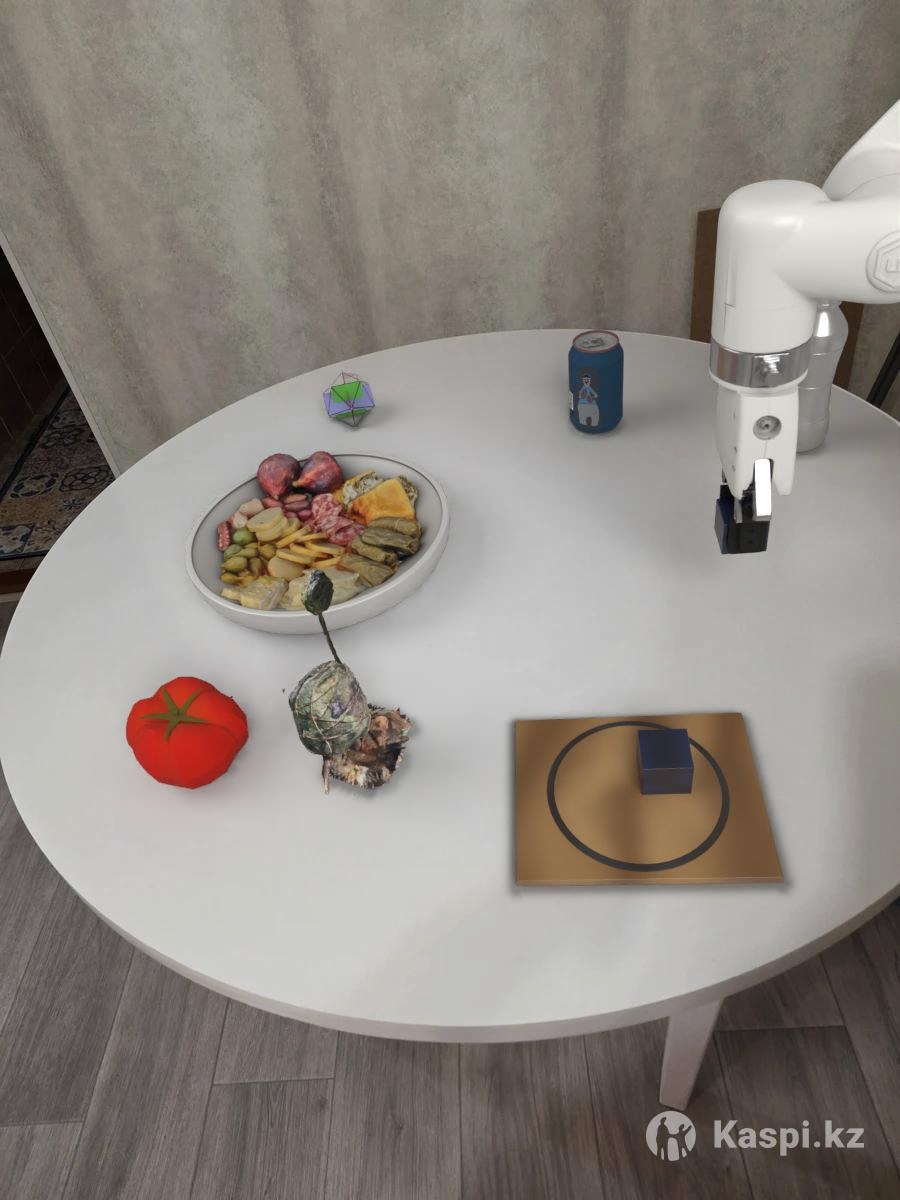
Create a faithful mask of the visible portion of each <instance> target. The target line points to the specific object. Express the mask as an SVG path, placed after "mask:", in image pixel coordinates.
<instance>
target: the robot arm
mask: <svg viewBox="0 0 900 1200" xmlns="http://www.w3.org/2000/svg"><path fill="white" fill-rule="evenodd" d="M720 207H721V208H720V210H719V214H718V221H717V233H716V247H715V263H714V264H715V265H714V278H713V279H714V281H713V297H712V312H711V327H710V328H711V329H710V343H709V344H710V346H709V360H708V362H709V363H708V374H709V377H710V379H711V380H712V381H713V382H714V383H716V384H717V385H718V386H717V387H718V388H717V398H716V407H715V408H716V410H715V423H714V424H715V425H714V426H715V427H714V431H715V432H714V433H715V435H714V436H715V437H714V438H715V445H716V450H717V454H718V457H719V461H720V464H721V468H722V469H721V482H722V483H721V484H720V486H719V498H718V499H722V498H734V497H735V504H734V516H730V523H729V534H728V545H727V549H728V553H729V554H728V555H742V554H756V553H757V554H758V553H762V552H765V551H764V549H765V543H766V535H767V527H768V520H770V521H771V520H772V519H773V517H772V516H773V515H772V514H773V512H772V511H773V510H772V481H773V484H774V487H775V489H776V492H777V495H778V497H788V496H789V495H790V494H791V493H792V492H793V489H794V481H795V469H796V458H797V452H796V448H797V436H798V418H799V395H798V384H799V383H800V382H801V381H802V380H803V379H804V378H805V377H806V375H807V372H808V364H809V357H810V350H811V343H812V336H813V331H814V324H815V317H816V310H817V303H818V298H822V299H832V300H840V301H842V302H849V303H855V304H856V303H857V304H864V305H865V304H866V305H890V304H891V305H892V304H897V303H900V98H899V99H898V100H897V101H896V102H895V103H893V105H891V107H890V108H889V109H887V111H886V112H885V113H883V115H882V116H881V117H880V118H879V119H877V121H875V123H874V124H873V125H872V126H871V127H870V128H869V129H868V130H867V131H866V132H865V133H864V134H863V135H862V136H861V137H860V138H859V139H858V140H857V141H856V142H855V143H854V144H853V145H852V146H851V147H850V148H849V149H848V150H847V151H846V153H845V154H844V155H843V156H842V157H841V158H840V160H839V161H838V162H837V164H836V165H835V166H834V168H833V169H832V170H831V171H830V173H829V175H828V177H827V178H826V180H825V181H824V183H823V185H822V188H821V187H819V186H817V185H816V184H813V183H810V182H807V181H802V180H796V179H769V180H763V181H762V180H761V181H758V182H754V183H750V184H747V185H744V186H741V187H739V188H737V189H736V190H734V191H733V192H732V193H730V194H729V195H728V196H727V198H726V199H725V200H724V201H723V203H722V205H721V206H720ZM748 497H753V505H749V506H745V507H744V508H743V505H744V498H748Z"/></svg>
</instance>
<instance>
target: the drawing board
mask: <svg viewBox="0 0 900 1200" xmlns="http://www.w3.org/2000/svg"><path fill="white" fill-rule="evenodd" d="M657 729H687V733H688V738H689V743H690V749H691V754H692V759H693V764H694V774H693V782H692V790H691V794H652V795H642V794H641V787H640V780H639V772H638V765H637V757H636V752H637V731H638V730H657ZM751 748H752V747H751V745H750V740H749V737H748V733H747V728H746V725H745V721H744V717H743V714H742V712H722V713H721V712H720V713H719V712H718V713H691V714H665V715H664V714H663V715H637V716H635V715H634V716H610V717H609V716H608V717H607V716H606V717H604V716H603V717H580V718H579V717H578V718H550V719H548V718H547V719H522V720H515V810H516V811H515V824H516V825H515V827H516V828H515V829H516V830H515V833H516V834H515V835H516V836H515V838H516V842H515V843H516V844H515V845H516V848H515V849H516V850H515V851H516V886H518V887H536V886H537V887H539V886H547V887H550V886H551V887H553V886H614V885H615V886H619V885H623V886H625V885H626V886H627V885H689V884H691V885H694V884H695V885H696V884H700V885H701V884H752V883H753V884H760V883H762V884H766V883H767V884H768V883H769V884H770V883H771V884H772V883H774V884H775V883H783V880H784V873H783V870H782V866H781V861H780V858H779V854H778V850H777V845H776V842H775V837H774V835H773V830H772V827H771V823H770V818H769V814H768V811H767V807H766V803H765V799H764V796H763V792H762V788H761V782H760V780H759V776H758V772H757V768H756V765H755V764H756V763H755V760H754V756H753V753H752V749H751Z"/></svg>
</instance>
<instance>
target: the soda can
mask: <svg viewBox="0 0 900 1200" xmlns="http://www.w3.org/2000/svg"><path fill="white" fill-rule="evenodd" d="M624 358H625V351H624V348H623V346H622V344H621V343H620V337H619V335H617V334H616V333H614V332H612V331H609V330H604V329H591V330H587V331H583V332H581V333H579V334H577V335H576V336H575V337H574V338H573V339H572V345H571V347H570V348H569V350H568V354H567V362H568V363H567V365H568V401H569V402H568V404H569V405H568V407H569V408H568V409H569V410H568V411H569V420H570V421H571V423H572V425H573V426H574V428H575V429H576V430H577V431H578V432H579V433H581V434H584V435H588V436H602V435H606V434H610V433H611V432H613V431H614V430H615V429H617V427H618V425H619V424H620V422H621V421H622V419H623V416H624V368H625V367H624V360H625V359H624Z"/></svg>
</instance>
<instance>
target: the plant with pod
mask: <svg viewBox="0 0 900 1200" xmlns="http://www.w3.org/2000/svg"><path fill="white" fill-rule="evenodd" d="M333 593H334V589H333V583H332V581H331V579H330V578H328V577H327V576H326V574H325V573H324V572H323V571H322V570H315V569H313V570H312V571H311V574H310V575H309V576H308V577H307V578H306V580H305V581H304V584H303V586H302V589H301V601H302V603H303V605H304V606H305V608H306V611H309V612H310V613H311V614H313V615H315V616H317V615H318V618H319V622H320V624H321V627H322V628H323V632H322V633H323V634H324V636H325V640H326V643H327V645H328V647H329V650H330V652H331V654H332V656H333V659H334V660H333V659H332V660H328V661H326V662H322V663H320V664H319V665H316V666H314V667H313V668H311V669H310V670H309V671H308V672H307V673H306V674H305V675H304V676H303V677H302V678H301V679H300V680H299V681H298V683H297V685H296V687H295V688H294V689H293V690H292V691H291V692H290V694H289V695H288V705H289V708H290V711H291V712H292V718H293V721H294V725H295V727H296V731H297V735H298V738H299V740H300V741H301V744H302V745H303V747H304V748H305V749H306V750H307V751H308V753H310V754H311V755H315V756H316V755H318V756H322V761H323V764H322V767H321V776H322V779H323V784H324V794H325V795H326V796H327V795H329V794H330V791H331V790H330V789H331V788H330V783H331V782H330V777H332V778H333V779H336V780H340V781H342V782H344V783H345V784H346V785H349V784H350V783H351V784H352V785H351V786H352V787H355V786H356V787H357V788H358V787H359V788H361V787H362V789H365V790H369V789H370V790H373V789H374V788H380V787H383V785H385V784H387V782H389V779H391V777H392V776H393V775H394V773H395V772H396V770H397V769H398V768H400V764H401V762H403V761H405V759H404V758H405V756H404V755H405V754H404V751H405V749H406V746H405V745H404V744H405V743H407V742H408V741H409V740H410V738H409V736H408V733H409V732H410V730H411V728H412V727H413V726H414V724H413V723H412V721H411V719H410V717H408V718H407V714H401V709H400V707H398V708H397V709H396V710H395V711H394V709H391V710H390V709H386V707H380V706H379V707H377V705H376V704H374V705H373V704H372V703H368V698H367V695H365V694H364V691H363V689H362V687H361V686H360V682H359V681H358V680H357V678H356V677H355V674H354V672H353V671H351V668H350V667H349V666H348V665H347V663H343V662H342V660H341V659H340V657H339V655H338V653H337V650H336V648H335V646H334V642H333V640H332V639H331V636H330V633H329V631H327V627H326V623H325V620H324V617H323V613H322V612H324V611H327V610H328V608H329V606H330V604H331V600H332V597H333ZM281 691H282V692H283V694H285V693H286V689H285V688H282V689H281Z"/></svg>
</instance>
